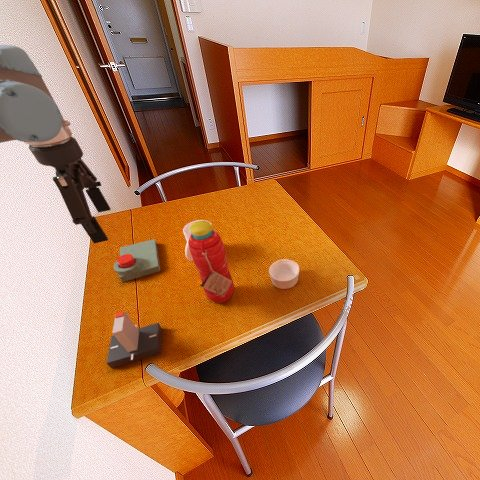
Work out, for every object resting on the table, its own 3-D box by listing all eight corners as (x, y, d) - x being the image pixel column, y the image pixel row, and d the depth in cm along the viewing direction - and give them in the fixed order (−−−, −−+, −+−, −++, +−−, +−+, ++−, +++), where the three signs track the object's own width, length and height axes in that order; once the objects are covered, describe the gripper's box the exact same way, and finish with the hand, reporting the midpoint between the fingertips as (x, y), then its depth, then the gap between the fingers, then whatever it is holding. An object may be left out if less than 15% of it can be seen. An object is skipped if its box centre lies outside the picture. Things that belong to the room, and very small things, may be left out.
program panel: (110, 373, 60) (105, 367, 59) (116, 337, 67) (111, 331, 65) (161, 357, 63) (157, 351, 62) (162, 324, 70) (158, 318, 68)
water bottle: (239, 313, 73) (220, 242, 57) (207, 320, 71) (178, 249, 55) (235, 280, 82) (218, 210, 66) (207, 286, 80) (182, 215, 64)
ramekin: (271, 268, 86) (270, 258, 83) (300, 268, 86) (299, 258, 83) (268, 291, 79) (267, 281, 76) (299, 291, 80) (299, 281, 77)
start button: (135, 265, 80) (132, 260, 79) (119, 270, 78) (116, 265, 77) (135, 257, 83) (132, 252, 81) (120, 261, 81) (116, 256, 80)
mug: (203, 272, 84) (194, 247, 77) (179, 266, 85) (168, 241, 78) (223, 246, 93) (216, 222, 86) (201, 242, 94) (193, 217, 87)
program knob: (137, 349, 62) (121, 329, 57) (128, 352, 61) (111, 332, 56) (139, 331, 65) (124, 310, 60) (130, 333, 65) (115, 313, 60)
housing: (160, 271, 83) (156, 262, 81) (119, 283, 79) (113, 274, 77) (157, 243, 93) (152, 234, 90) (120, 253, 89) (114, 244, 86)
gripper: (64, 162, 48) (119, 251, 62) (81, 119, 64) (121, 197, 78) (8, 170, 45) (78, 261, 59) (40, 123, 61) (89, 203, 75)
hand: (103, 224), depth 69 cm, fingers open, 13 cm apart
